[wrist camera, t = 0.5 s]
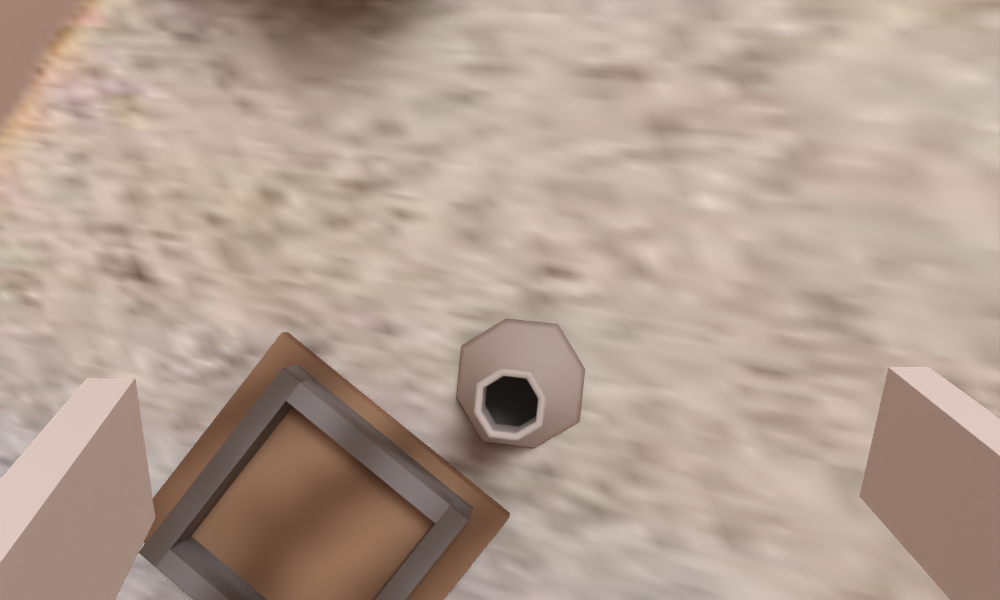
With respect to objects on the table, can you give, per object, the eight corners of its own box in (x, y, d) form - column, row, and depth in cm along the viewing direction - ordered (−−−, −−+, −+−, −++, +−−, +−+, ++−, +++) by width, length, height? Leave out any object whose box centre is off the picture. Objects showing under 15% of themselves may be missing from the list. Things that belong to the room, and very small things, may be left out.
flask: (471, 460, 44) (445, 505, 34) (443, 332, 45) (409, 340, 35) (599, 433, 44) (611, 470, 34) (570, 304, 44) (573, 303, 34)
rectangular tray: (509, 513, 44) (505, 530, 41) (354, 707, 45) (337, 741, 41) (287, 332, 45) (265, 334, 42) (138, 524, 46) (103, 542, 42)
